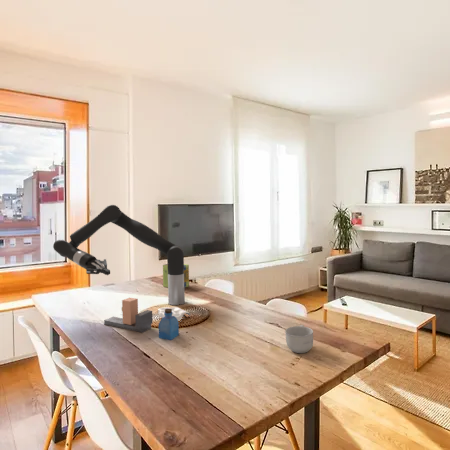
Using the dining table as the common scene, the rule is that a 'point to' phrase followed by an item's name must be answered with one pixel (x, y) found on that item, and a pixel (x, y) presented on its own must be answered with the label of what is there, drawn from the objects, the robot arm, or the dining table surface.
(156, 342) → the dining table surface
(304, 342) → the teacup
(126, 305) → the carriage
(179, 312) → the white brass knuckles
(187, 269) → the protein box
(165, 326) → the perfume bottle
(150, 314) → the rail
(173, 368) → the dining table surface
